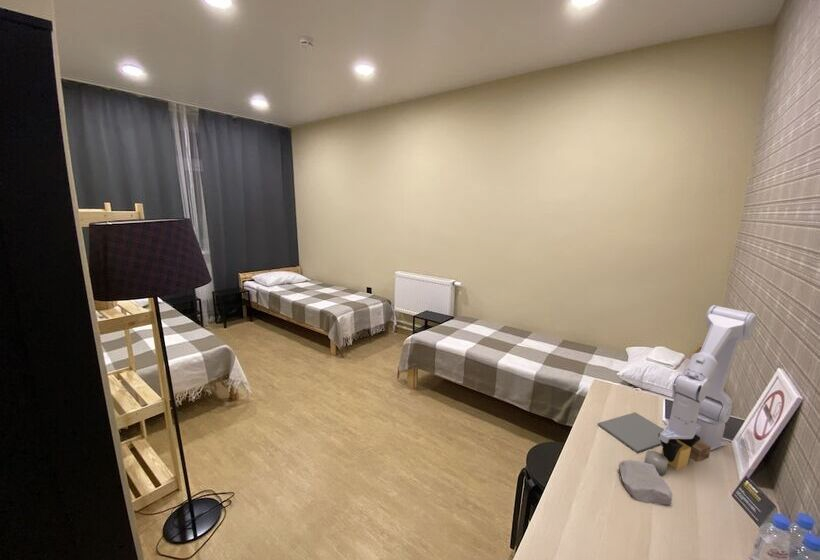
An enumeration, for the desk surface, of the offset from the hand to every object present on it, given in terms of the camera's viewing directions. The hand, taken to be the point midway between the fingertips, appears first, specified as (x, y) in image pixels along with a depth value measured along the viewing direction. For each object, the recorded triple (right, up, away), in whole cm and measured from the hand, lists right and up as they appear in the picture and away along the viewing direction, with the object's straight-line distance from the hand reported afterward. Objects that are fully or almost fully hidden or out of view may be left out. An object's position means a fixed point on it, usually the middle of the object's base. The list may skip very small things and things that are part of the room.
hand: (674, 456), depth 98 cm
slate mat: (-3, +1, +13) cm, 13 cm away
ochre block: (0, -2, 0) cm, 2 cm away
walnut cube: (+8, -1, +3) cm, 9 cm away
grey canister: (-8, -2, -2) cm, 8 cm away
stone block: (-15, -4, -8) cm, 18 cm away
